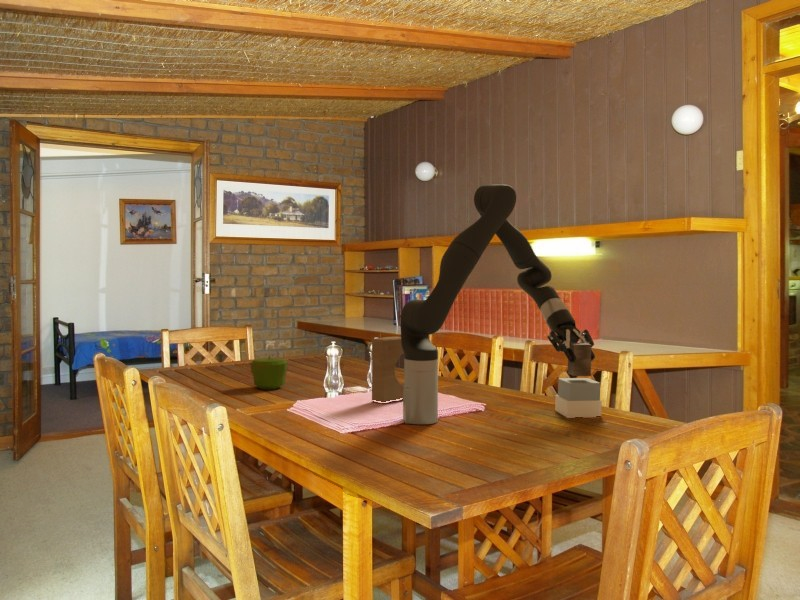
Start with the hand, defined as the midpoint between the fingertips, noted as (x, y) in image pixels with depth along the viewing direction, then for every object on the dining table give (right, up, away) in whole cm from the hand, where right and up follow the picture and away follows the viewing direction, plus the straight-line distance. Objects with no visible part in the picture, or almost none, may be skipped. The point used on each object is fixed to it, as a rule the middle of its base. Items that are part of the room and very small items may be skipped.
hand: (583, 360), depth 194 cm
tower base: (-1, -16, +2) cm, 16 cm away
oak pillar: (-1, -4, +2) cm, 5 cm away
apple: (-98, -14, +43) cm, 108 cm away
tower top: (-1, -11, +2) cm, 11 cm away
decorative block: (-56, -15, +21) cm, 61 cm away
